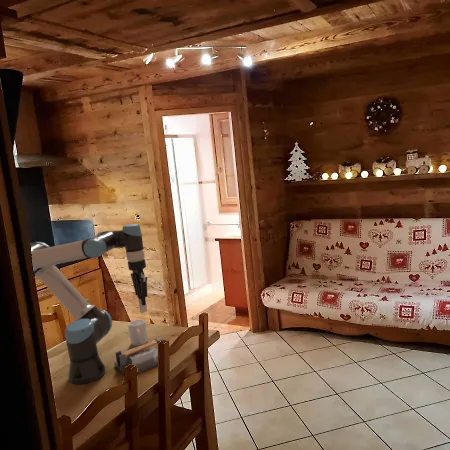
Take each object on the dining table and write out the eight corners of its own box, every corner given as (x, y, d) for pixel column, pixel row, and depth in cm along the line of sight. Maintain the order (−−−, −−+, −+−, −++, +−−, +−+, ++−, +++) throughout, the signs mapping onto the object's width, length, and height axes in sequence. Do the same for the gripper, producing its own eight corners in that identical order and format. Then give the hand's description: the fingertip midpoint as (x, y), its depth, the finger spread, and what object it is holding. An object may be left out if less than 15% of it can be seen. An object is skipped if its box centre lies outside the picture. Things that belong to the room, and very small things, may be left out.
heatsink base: (126, 377, 186) (123, 359, 185) (114, 366, 198) (111, 349, 197) (170, 360, 197) (167, 342, 196) (156, 350, 209) (154, 334, 208)
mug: (149, 346, 214) (146, 326, 213) (131, 350, 213) (128, 330, 211) (147, 337, 226) (144, 318, 224) (130, 341, 224) (127, 321, 223)
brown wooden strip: (121, 359, 190) (120, 357, 190) (118, 357, 193) (117, 355, 193) (157, 343, 199) (157, 341, 199) (154, 341, 202) (154, 339, 202)
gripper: (150, 259, 190) (157, 312, 194) (138, 255, 201) (145, 306, 204) (133, 263, 186) (141, 317, 190) (122, 259, 197) (130, 310, 200)
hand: (143, 311), depth 197 cm, fingers closed
